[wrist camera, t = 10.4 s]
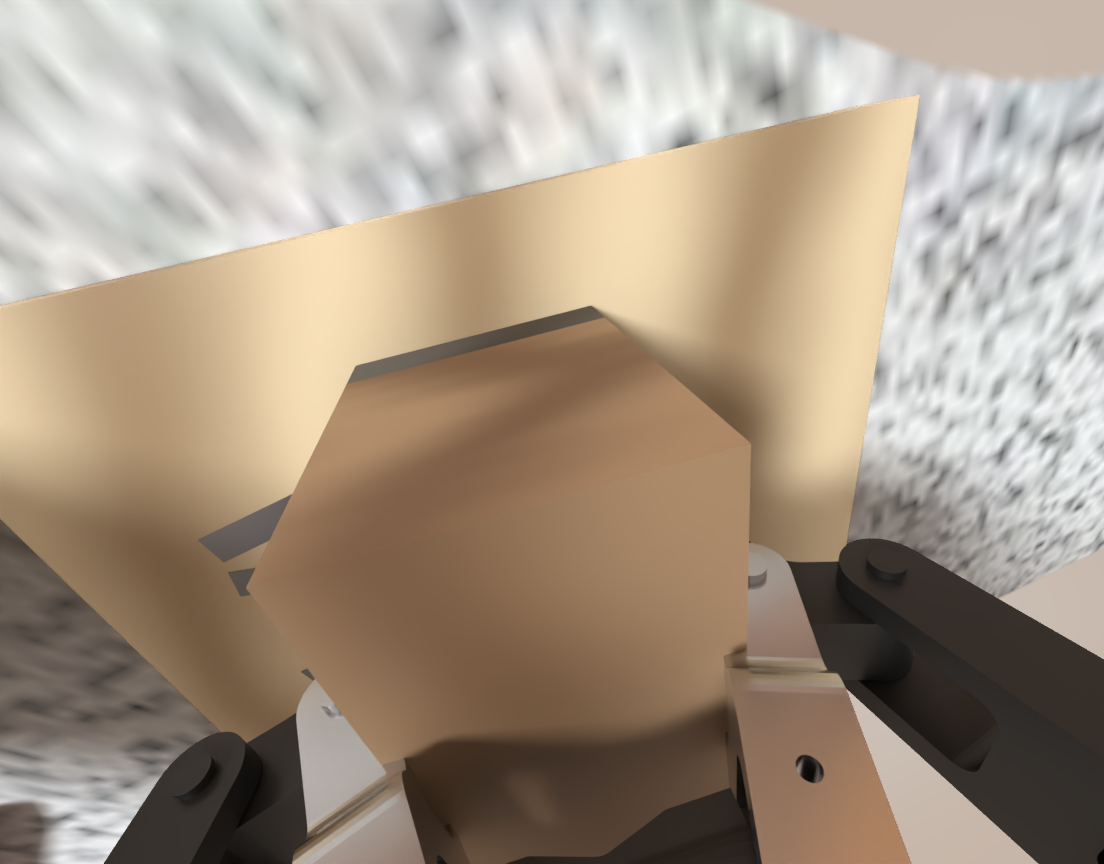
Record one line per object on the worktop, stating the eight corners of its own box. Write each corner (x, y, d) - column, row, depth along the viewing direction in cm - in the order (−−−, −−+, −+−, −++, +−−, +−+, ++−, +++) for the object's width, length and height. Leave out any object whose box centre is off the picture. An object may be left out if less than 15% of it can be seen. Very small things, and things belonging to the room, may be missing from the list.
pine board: (861, 105, 11) (920, 94, 9) (810, 552, 17) (840, 583, 16) (-86, 325, 9) (-177, 350, 8) (271, 718, 16) (255, 766, 15)
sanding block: (591, 305, 10) (751, 443, 5) (635, 593, 14) (743, 827, 9) (355, 365, 10) (245, 587, 4) (477, 641, 14) (495, 914, 9)
